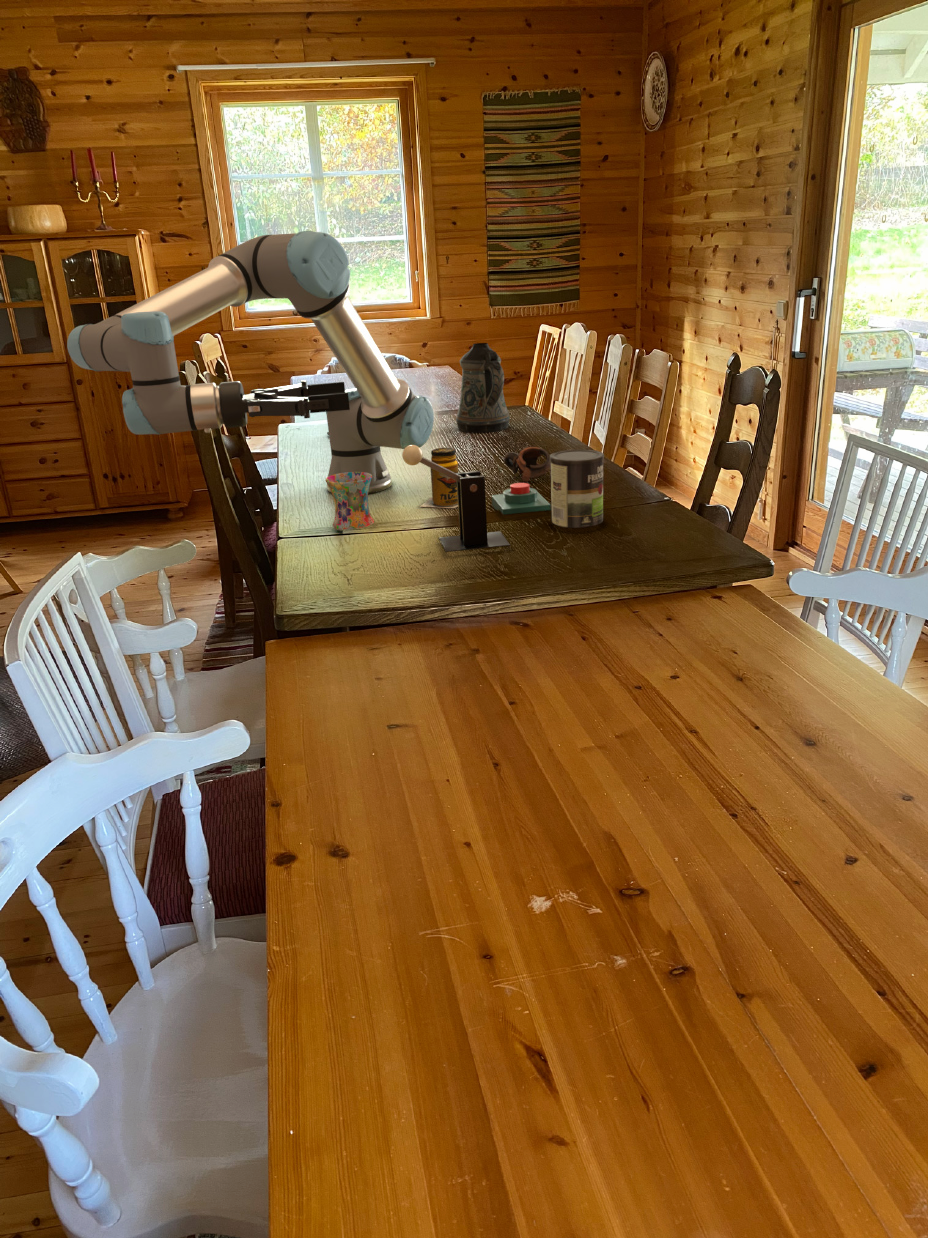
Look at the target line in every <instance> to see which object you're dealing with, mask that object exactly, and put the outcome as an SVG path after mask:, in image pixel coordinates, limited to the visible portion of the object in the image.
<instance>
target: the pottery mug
mask: <svg viewBox="0 0 928 1238" xmlns="http://www.w3.org/2000/svg"><path fill="white" fill-rule="evenodd" d="M542 455H543V456H544V457H545V461H544V462H543V463H541V464H540V463H538V462H537V461H538V458H540V457H542ZM503 461H504V463H505V465H506V466H507V468H508V469H510V470H511V471H512V473H513V474H514V475H517V474H518V472H519V476H521V480H522V481H523V482H524V483H528V482H529V481H530V480H531V479H534V478H538V477H541V476H543V475H546V474H547V473H548V472H549V471H550V470H551V460H550V454H549V452H548V451H547V450H545V449H544V448H542V447H538V446H528V447H525V448H523V449H522V450H520V452H519V453H517V452H515V451H509V452H506V453H505V455H504V458H503Z"/></svg>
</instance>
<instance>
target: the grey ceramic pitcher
mask: <svg viewBox="0 0 928 1238" xmlns="http://www.w3.org/2000/svg"><path fill="white" fill-rule="evenodd" d="M501 362H502V359H501V357H500V355H499V354H498V353H497V352H496V351H495V350H494V349H492V348H491V347H490V346H489V342H476V343H473V344H472V346H471V348H470V350H469V351H467V352H466V353H465V354H464V355H463V356H461V358H460V359H459V364H460V368H461V369H462V375H461V387H460V399H459V405H458V411H457V414H456V417H455V421H456V425H457V429H458V431H459V432H464V433H473V434H478V433H480V434H481V433H482V434H485V433H493V432H500V431H504V430H506V429H507V428H509V425H510V424H509V423H510V417H511V416H510V413H509V410H508V408H507V403H506V400H505V395H504V385H505V373H504V369H503V367H502V365H501Z"/></svg>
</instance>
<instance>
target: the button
mask: <svg viewBox="0 0 928 1238" xmlns="http://www.w3.org/2000/svg"><path fill="white" fill-rule="evenodd" d="M509 486H510V488H509V489H510V490H511V494H526V493H530V488H531V486H530V484H529V483H528V482H515V483H511V484H510V485H509Z"/></svg>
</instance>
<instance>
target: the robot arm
mask: <svg viewBox="0 0 928 1238" xmlns="http://www.w3.org/2000/svg"><path fill="white" fill-rule="evenodd" d="M349 265H350V260H349V257H348V255H347V252H346V250H345V247H344V246H343V245H342V244H341V243H340V242H339V241H338V239H337V238H335V237H334V236H332V235H330V234H329V233H326V232H324V231H313V230H302V231H298V232H292V233H275V234H271V233H270V234H262V235H259V236H256V237H252V238H250V239H248V240H246V241H244V242H241V243H239V244H238V245H236V246H233V247H232V248H231V249H228V250H226V251H225V252H223V253H221V254H219V255H217V256H215V257H213V258H212V259H211V260H210V261H209V263H208V266H207V267H206V268H205V269H202V270H201V271H198V272H196V273H194V274H193V275H190V276H189V277H186V278H184V279H183V280H180V281H178V282H177V283H175V284H173V285H171V286H169V287H167V288H165V289H163V290H161V291H159V292H158V293H155V294H153V295H151V296H149V297H148V298H145V299H144V300H141V301H139V302H138V303H135V304H133V305H131V306H130V307H128V308H126V309H123V310H122V311H120V312H118V313H116V314H114V315H112V316H110V317H107V318H105V319H103V320H101V321H99V322H97V323H95V324H93V323H85V324H82V325H78V326H76V327H75V328H73V329H72V330H71V331H70V333H69V335H68V337H67V343H66V346H67V352H68V354H69V357H70V358H71V360H72V362H73V363H74V364H75V365H77V366H78V367H80V368H81V369H84V370H91V371H94V372H127V373H128V372H130V377H131V382H132V388H130V389H127V390H124V391H123V394H122V398H121V403H122V413H123V416H124V421H125V424H126V427H127V428H128V430H129V431H130V432H131V433H132V434H134V435H157V436H158V435H159V436H160V435H164V434H174V433H184V432H193V431H202V430H204V433H206V434H210V433H211V430H215V429H217V430H218V429H221V428H222V427H223V425H224V427H225V428H227V429H230V428H243V427H246V426H248V417H250V418H255V417H303V419H311V414H317V413H325V415H326V422H327V430H328V431H327V432H326V435H327V436H328V437H329V445H330V454H331V459H330V465H329V468H328V473H327V477H329V476H331V475H334V474H339V473H345V472H365V473H369V474H371V475H372V478H371V481H370V485H369V490H368V494H373V493H379V492H382V491H384V490H387V489H389V488H390V487H391V486H392V479H391V478H392V477H391V474H390V472H389V470H388V467H387V465H386V463H385V462H386V461H385V460H384V457H383V455H382V450H381V448H391V449H399V450H404V449H405V448H406V447H407V446H409V445H416V446H418V447H419V448H420V449H421V448H422V447H423V446H424V445H425V444H426V443H427V442H428V441H429V440H430V439H429V438H430V436H431V434H432V431H433V428H434V420H435V412H434V407H433V405H432V402H431V400H430V399H429V398H428V397H426V396H423V395H421V394H420V395H416V394H414V393H413V391H412V389H411V388H410V386H409V384H408V383H407V382H406V380H405V379H402V378H399V377H398V378H397V377H396V375H395V374H394V372H393V371H392V369H391V367H390V366H389V363H388V362H387V360H386V359H385V356H384V355H383V354H382V352H381V350H380V348H379V347H378V345H377V343H376V341H375V340H374V338H373V336H372V335H371V333H370V331H369V329H368V328H367V326H366V325H365V323H364V321H363V318H361V316H360V314H359V313H358V311H357V309H356V307H355V305H354V304H353V303H352V301H351V298H350V297H349V292H350V285H351V284H350V280H351V269H349V268H348V267H349ZM266 299H267V300H268V299H278V300H279V299H280V300H281V299H283V300H284V299H287V300H289V302H290V303H291V305H292V306H293V308H294V309H295V310H296V312H297V314H298V315H299V316H300V317H301V318H302V319H303V318H304V319H308V320H311V321H312V323H313V325H314V326H315V328H316V329H317V331H318V332H319V334H320V335H321V337H322V338H323V340H324V342H325V343H326V345H327V346H328V348H329V350H330V351H331V352H332V354H333V355H334V357H335V359H336V360H337V362H338V363H339V365H340V367H341V368H342V370H343V371H344V373H345V374H346V375H347V377H348V379H349V380H350V382H351V383H352V385H353V387H354V388H349V389H346V387H345V381H338V382H336V381H335V382H323V383H312V384H308V383H307V382H308V381H307V380H301V381H300V383H297V384H291V385H283V386H278V387H277V386H276V387H271V388H265V389H264V388H257V389H252V390H250V393H248V394H245V392H244V386H243V384H242V382H241V381H239V380H236V381H223V382H220V383H219V384H218V385H217V384H216V383H215V382H204V383H195V384H193V383H192V384H188V385H181V379H180V375H179V373H180V372H179V368H178V367H179V366H178V361H177V355H176V348H175V341H174V340H175V338H174V337H175V336H176V335H178V334H180V333H181V332H183V331H185V330H187V329H190V328H191V327H193V326H195V325H196V324H198V323H200V322H202V321H204V320H206V319H207V318H209V317H211V316H213V315H215V314H216V313H218V312H220V311H222V310H224V309H225V308H227V307H229V306H230V307H233V308H238V307H241V306H242V305H245V304H246V303H249V302H252V301H257V300H266ZM326 488H327V491H328V492H329V493H331V490H330V488H329V486H328V484H327V483H326Z"/></svg>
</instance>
